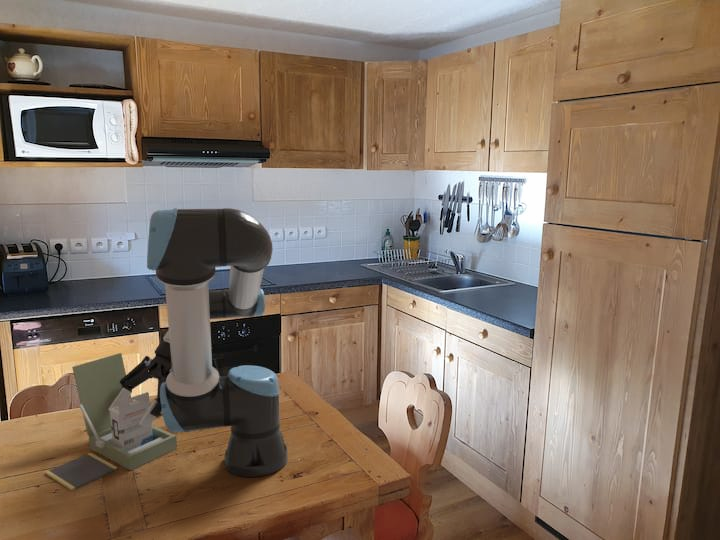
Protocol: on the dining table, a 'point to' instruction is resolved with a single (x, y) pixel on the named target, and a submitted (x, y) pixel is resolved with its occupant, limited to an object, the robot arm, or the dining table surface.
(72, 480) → the mat
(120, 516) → the dining table surface
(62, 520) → the dining table surface
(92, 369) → the case
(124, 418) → the ink box
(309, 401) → the dining table surface
